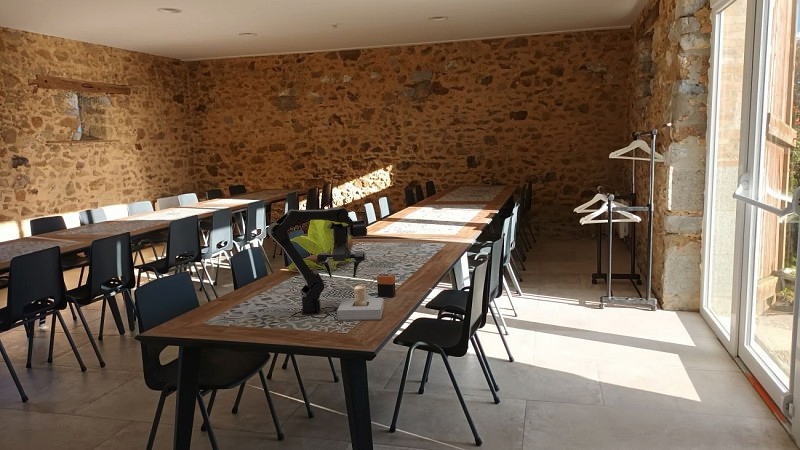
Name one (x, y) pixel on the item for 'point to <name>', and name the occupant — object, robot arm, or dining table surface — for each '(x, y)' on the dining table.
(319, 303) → the robot arm
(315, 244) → the artificial plant
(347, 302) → the socket block
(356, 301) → the peg
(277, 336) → the dining table surface
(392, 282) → the battery
